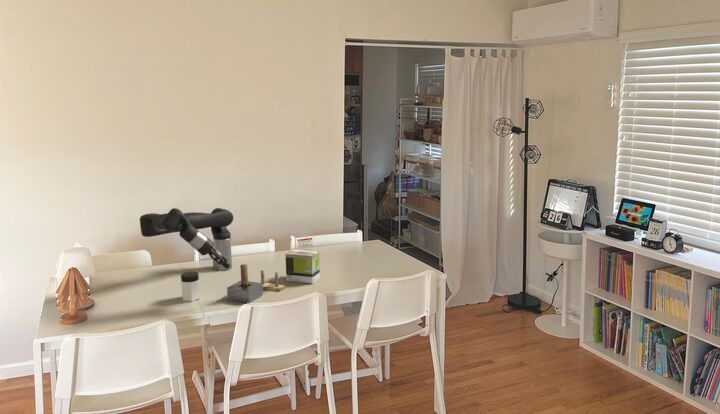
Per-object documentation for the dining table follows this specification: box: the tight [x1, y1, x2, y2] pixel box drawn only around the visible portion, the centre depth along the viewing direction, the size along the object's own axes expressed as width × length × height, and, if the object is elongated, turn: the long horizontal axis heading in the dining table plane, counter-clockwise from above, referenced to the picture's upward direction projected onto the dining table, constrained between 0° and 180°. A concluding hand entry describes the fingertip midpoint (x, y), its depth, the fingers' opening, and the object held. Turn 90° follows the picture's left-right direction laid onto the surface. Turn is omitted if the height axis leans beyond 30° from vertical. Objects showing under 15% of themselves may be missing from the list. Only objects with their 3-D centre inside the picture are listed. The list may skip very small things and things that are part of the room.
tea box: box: [285, 248, 321, 284], centre depth 319 cm, size 15×10×15 cm
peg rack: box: [259, 269, 286, 292], centre depth 307 cm, size 14×5×8 cm, turn 68°
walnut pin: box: [239, 263, 249, 288], centre depth 293 cm, size 3×3×14 cm
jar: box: [180, 271, 201, 302], centre depth 292 cm, size 9×8×12 cm
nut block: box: [226, 280, 264, 304], centre depth 294 cm, size 12×12×6 cm
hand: (227, 264), depth 288 cm, fingers open, 8 cm apart
